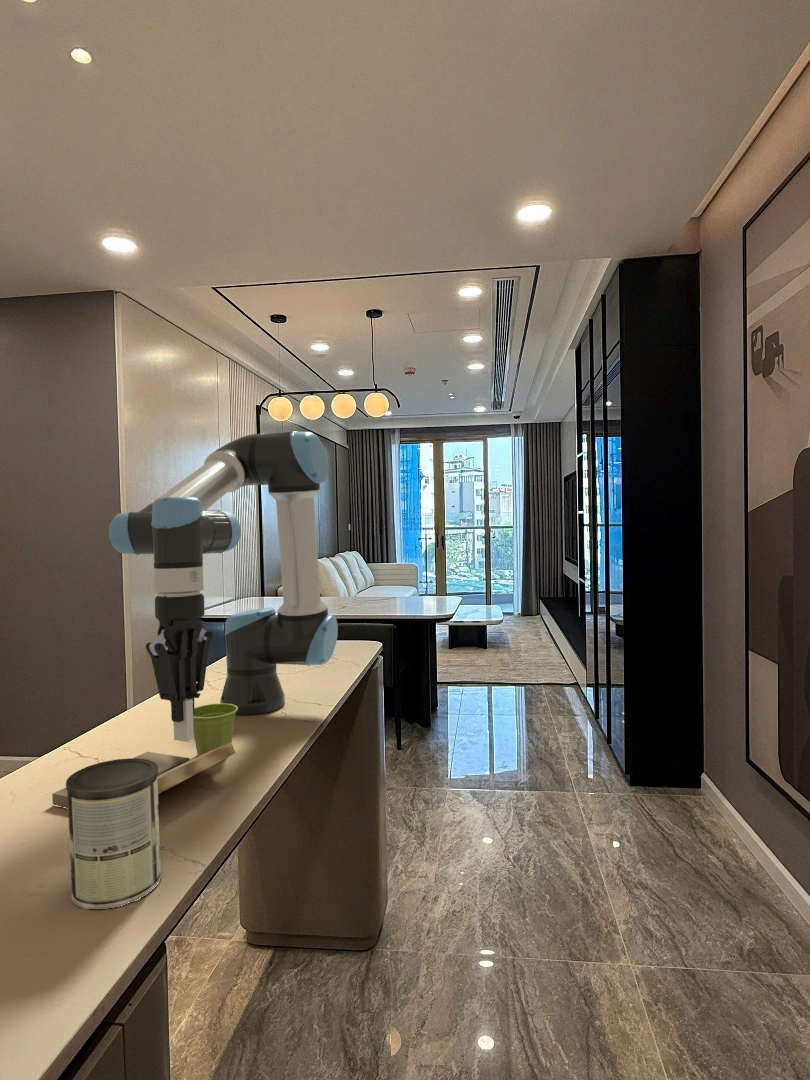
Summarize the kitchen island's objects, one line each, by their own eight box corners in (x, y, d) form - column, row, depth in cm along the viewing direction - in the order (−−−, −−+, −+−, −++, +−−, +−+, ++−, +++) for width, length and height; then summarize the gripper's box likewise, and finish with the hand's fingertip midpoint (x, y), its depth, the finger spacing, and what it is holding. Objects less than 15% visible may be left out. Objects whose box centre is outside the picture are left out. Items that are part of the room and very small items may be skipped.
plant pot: (186, 766, 120) (185, 719, 120) (189, 749, 129) (188, 705, 129) (239, 760, 123) (238, 714, 123) (238, 744, 132) (237, 701, 132)
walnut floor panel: (147, 762, 123) (147, 751, 123) (190, 769, 119) (189, 758, 119) (52, 806, 104) (52, 793, 104) (98, 816, 101) (98, 802, 100)
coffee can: (55, 891, 80) (50, 776, 80) (135, 856, 88) (132, 752, 88) (95, 922, 74) (90, 798, 73) (178, 881, 82) (174, 769, 81)
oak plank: (195, 770, 118) (191, 759, 119) (235, 753, 115) (231, 742, 115) (104, 817, 100) (100, 804, 100) (149, 798, 96) (144, 785, 97)
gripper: (168, 599, 98) (173, 755, 99) (224, 589, 110) (228, 729, 111) (130, 597, 101) (135, 750, 102) (189, 588, 113) (193, 725, 114)
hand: (183, 739), depth 106 cm, fingers closed
